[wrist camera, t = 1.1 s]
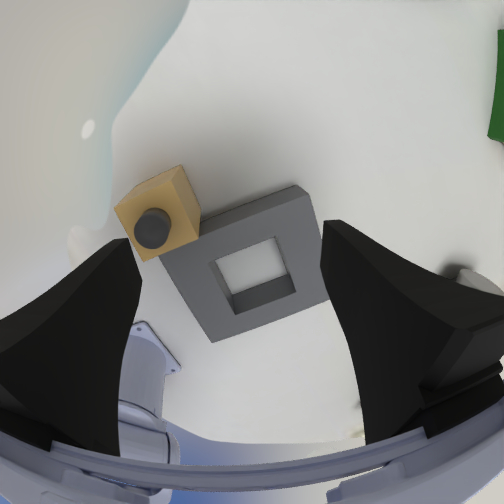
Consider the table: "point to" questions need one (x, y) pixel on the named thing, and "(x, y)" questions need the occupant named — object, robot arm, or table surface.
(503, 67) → the hardback book
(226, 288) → the socket housing
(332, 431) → the table surface
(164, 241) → the plug
